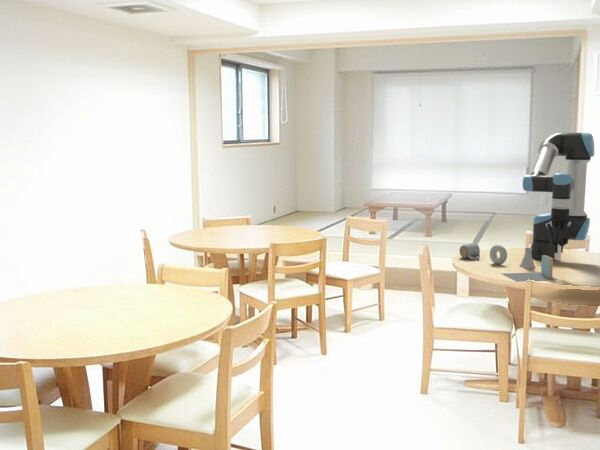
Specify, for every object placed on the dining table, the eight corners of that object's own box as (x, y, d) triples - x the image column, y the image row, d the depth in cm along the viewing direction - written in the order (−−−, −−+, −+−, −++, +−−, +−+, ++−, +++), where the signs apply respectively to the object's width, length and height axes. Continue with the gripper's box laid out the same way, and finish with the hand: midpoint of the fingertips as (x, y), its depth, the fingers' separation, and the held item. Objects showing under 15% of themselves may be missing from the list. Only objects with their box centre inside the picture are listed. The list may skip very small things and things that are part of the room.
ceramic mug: (458, 257, 338) (458, 242, 337) (470, 255, 341) (471, 241, 340) (471, 261, 329) (471, 246, 327) (483, 259, 332) (484, 245, 331)
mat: (541, 273, 299) (541, 272, 299) (559, 281, 283) (559, 280, 283) (500, 275, 296) (500, 273, 296) (516, 283, 280) (516, 281, 280)
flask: (527, 270, 306) (528, 250, 304) (516, 267, 312) (517, 247, 311) (538, 269, 308) (539, 248, 307) (527, 266, 315) (528, 246, 314)
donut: (508, 265, 316) (509, 245, 315) (503, 266, 315) (504, 246, 313) (492, 262, 325) (493, 242, 323) (487, 263, 323) (488, 243, 322)
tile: (544, 274, 294) (545, 255, 293) (552, 277, 287) (553, 258, 286) (540, 274, 294) (542, 255, 292) (548, 278, 287) (549, 258, 286)
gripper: (569, 206, 291) (566, 257, 294) (542, 207, 289) (539, 258, 293) (578, 208, 284) (575, 261, 287) (551, 209, 282) (548, 261, 285)
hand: (557, 259), depth 290 cm, fingers closed
